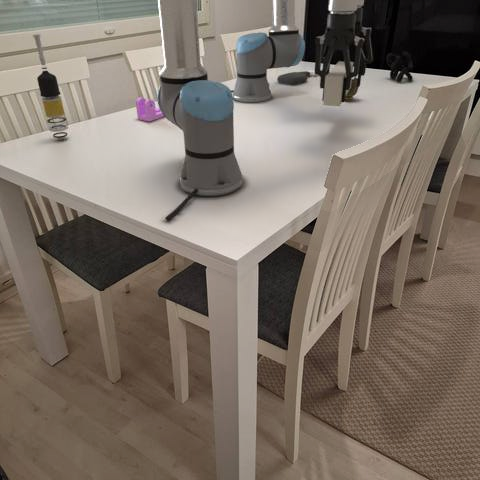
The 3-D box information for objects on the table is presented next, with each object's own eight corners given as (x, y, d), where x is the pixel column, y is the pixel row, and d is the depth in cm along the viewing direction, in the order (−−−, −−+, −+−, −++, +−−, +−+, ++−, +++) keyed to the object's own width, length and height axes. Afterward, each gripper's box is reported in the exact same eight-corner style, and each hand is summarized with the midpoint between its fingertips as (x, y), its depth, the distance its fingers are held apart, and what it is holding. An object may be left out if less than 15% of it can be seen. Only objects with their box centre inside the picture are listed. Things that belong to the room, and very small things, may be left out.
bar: (339, 106, 128) (342, 77, 124) (322, 105, 130) (325, 76, 126) (350, 87, 147) (353, 62, 143) (336, 86, 148) (338, 61, 144)
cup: (335, 101, 172) (337, 79, 168) (341, 96, 178) (343, 75, 173) (354, 103, 169) (357, 81, 165) (359, 98, 175) (362, 77, 170)
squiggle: (400, 92, 202) (376, 71, 205) (417, 76, 202) (392, 56, 205) (405, 81, 191) (380, 59, 194) (423, 64, 191) (397, 42, 194)
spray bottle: (274, 82, 200) (304, 73, 216) (295, 86, 194) (324, 76, 210) (275, 75, 198) (304, 67, 214) (295, 78, 192) (324, 70, 208)
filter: (71, 140, 139) (47, 35, 123) (52, 143, 137) (25, 36, 121) (69, 135, 143) (46, 33, 127) (51, 137, 141) (25, 34, 126)
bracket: (148, 121, 154) (146, 101, 150) (137, 118, 157) (135, 98, 153) (175, 112, 163) (173, 93, 159) (164, 110, 166) (162, 90, 162)
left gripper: (377, 11, 120) (366, 99, 132) (312, 10, 125) (306, 95, 138) (375, 14, 114) (363, 106, 126) (306, 13, 119) (301, 101, 132)
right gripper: (389, 6, 132) (378, 84, 143) (315, 5, 138) (310, 80, 150) (388, 8, 126) (376, 90, 138) (310, 7, 132) (305, 85, 144)
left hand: (333, 100), depth 132 cm, fingers closed on bar, 5 cm apart
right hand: (342, 85), depth 144 cm, fingers open, 9 cm apart
